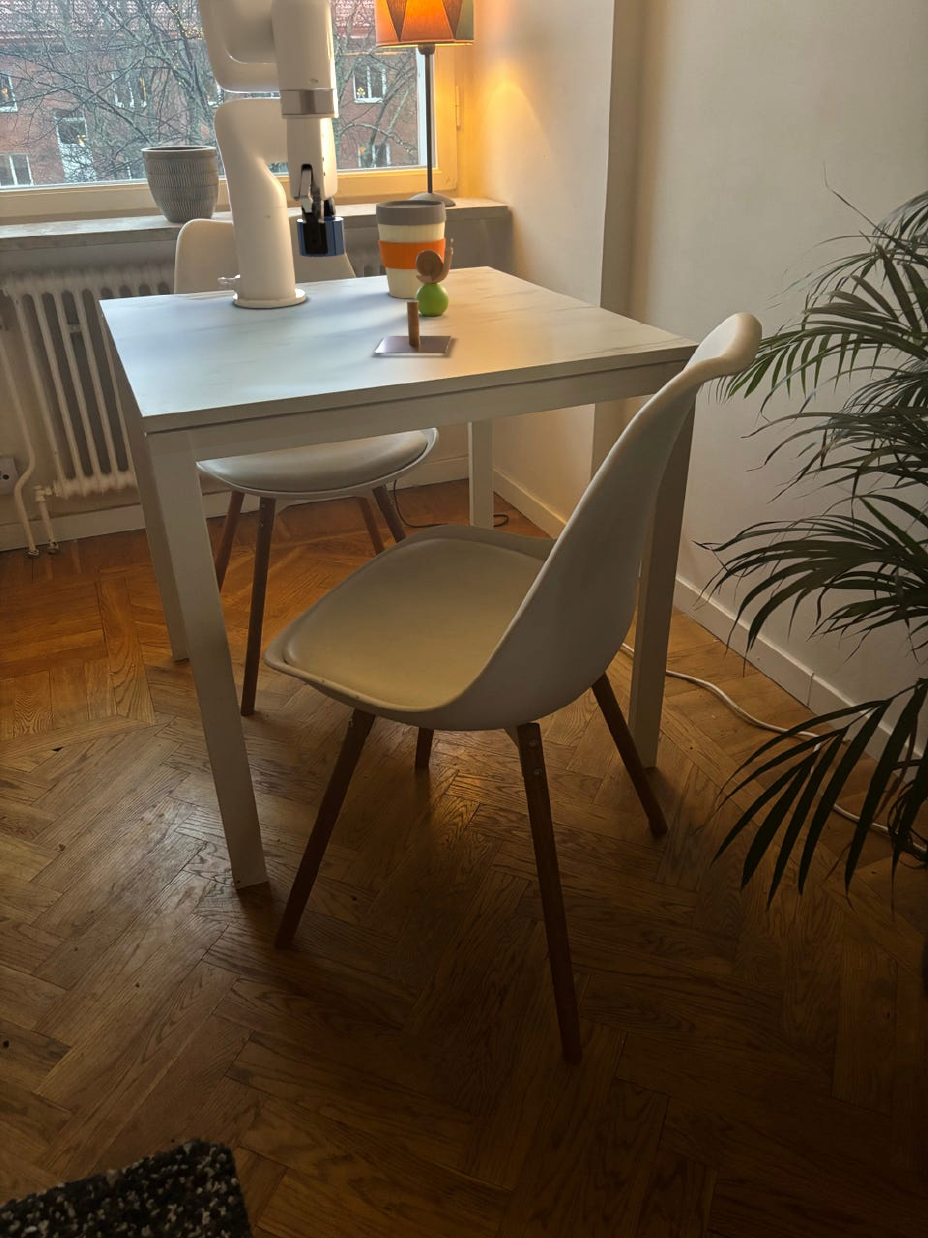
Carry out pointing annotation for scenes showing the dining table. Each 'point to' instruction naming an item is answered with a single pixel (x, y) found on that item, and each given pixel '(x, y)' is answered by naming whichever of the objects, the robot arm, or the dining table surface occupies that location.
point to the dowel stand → (414, 337)
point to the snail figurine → (433, 281)
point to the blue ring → (333, 233)
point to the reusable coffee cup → (408, 240)
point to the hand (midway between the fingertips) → (322, 248)
